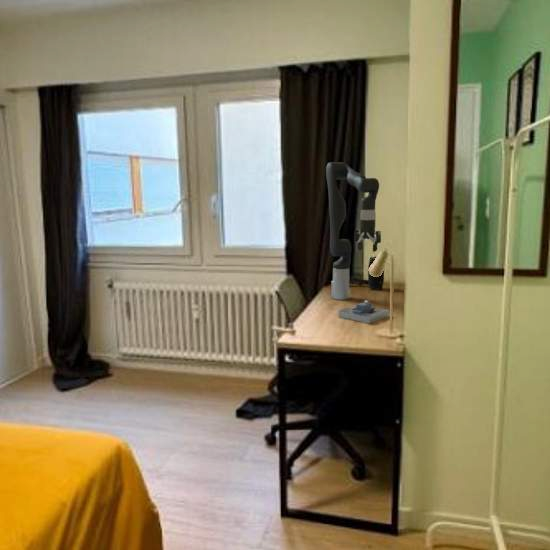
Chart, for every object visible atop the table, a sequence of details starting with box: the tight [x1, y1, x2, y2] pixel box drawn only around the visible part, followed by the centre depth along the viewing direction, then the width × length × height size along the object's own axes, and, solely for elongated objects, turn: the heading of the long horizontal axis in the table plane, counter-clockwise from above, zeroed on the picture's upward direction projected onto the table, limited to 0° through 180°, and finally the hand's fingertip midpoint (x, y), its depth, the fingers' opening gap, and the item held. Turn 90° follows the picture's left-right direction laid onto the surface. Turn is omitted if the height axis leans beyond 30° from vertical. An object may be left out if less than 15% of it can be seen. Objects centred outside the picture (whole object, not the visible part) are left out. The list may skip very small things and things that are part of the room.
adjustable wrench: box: [349, 275, 369, 287], centre depth 313 cm, size 8×3×25 cm
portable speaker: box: [367, 256, 385, 291], centre depth 302 cm, size 9×9×20 cm
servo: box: [353, 300, 376, 314], centre depth 243 cm, size 4×13×7 cm, turn 136°
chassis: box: [337, 304, 390, 324], centre depth 244 cm, size 18×17×3 cm
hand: (367, 250), depth 254 cm, fingers open, 8 cm apart
